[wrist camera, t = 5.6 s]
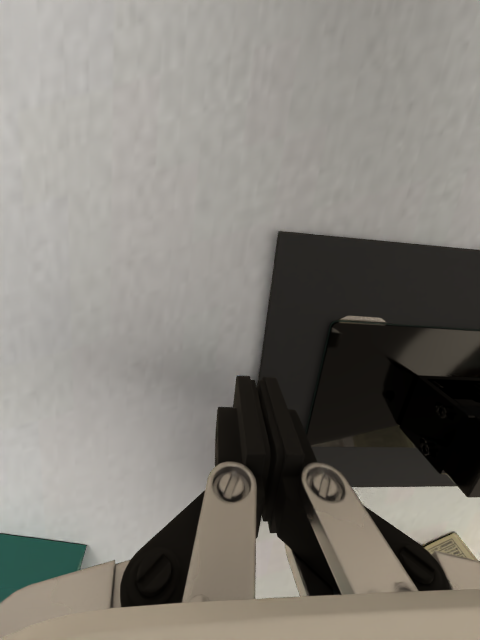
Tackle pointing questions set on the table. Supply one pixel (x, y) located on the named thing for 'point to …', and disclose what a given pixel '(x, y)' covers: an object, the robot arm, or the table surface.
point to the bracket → (34, 561)
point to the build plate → (402, 393)
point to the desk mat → (361, 300)
